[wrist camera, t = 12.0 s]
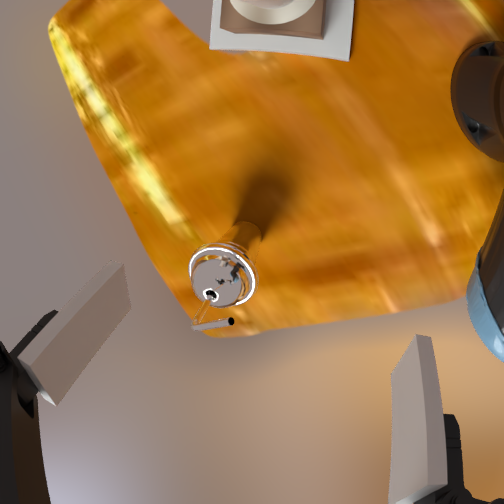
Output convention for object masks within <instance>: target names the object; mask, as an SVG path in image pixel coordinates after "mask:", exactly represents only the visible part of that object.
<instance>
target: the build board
mask: <svg viewBox="0 0 504 504" xmlns="http://www.w3.org/2000/svg"><path fill="white" fill-rule="evenodd" d="M221 4H222V0H213V9H212V22H211V35H210V49H211V50H246V51H265V52H279V53H290V54H299V55H308V56H315V57H323V58H329V59H336V60H342V61H347V62H349V54H350V44H351V34H352V22H353V10H354V0H327V1H326V14H325V26H324V37H323V40H319V39H311V38H302V37H292V36H279V35H263V34H234V33H232V32H229V31H226V30H224V29H221V28H220V16H221Z"/></svg>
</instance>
